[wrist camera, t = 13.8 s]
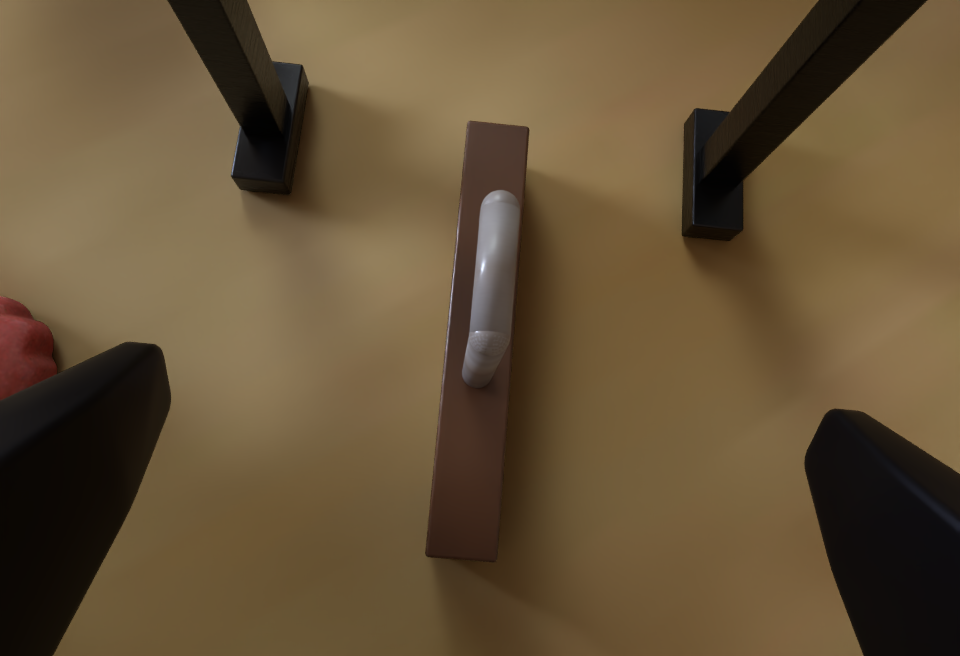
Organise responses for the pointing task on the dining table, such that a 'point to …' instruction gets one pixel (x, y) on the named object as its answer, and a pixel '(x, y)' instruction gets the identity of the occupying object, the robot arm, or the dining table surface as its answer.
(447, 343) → the hanger
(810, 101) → the clothes rail
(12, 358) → the stacking bear
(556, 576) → the dining table surface
